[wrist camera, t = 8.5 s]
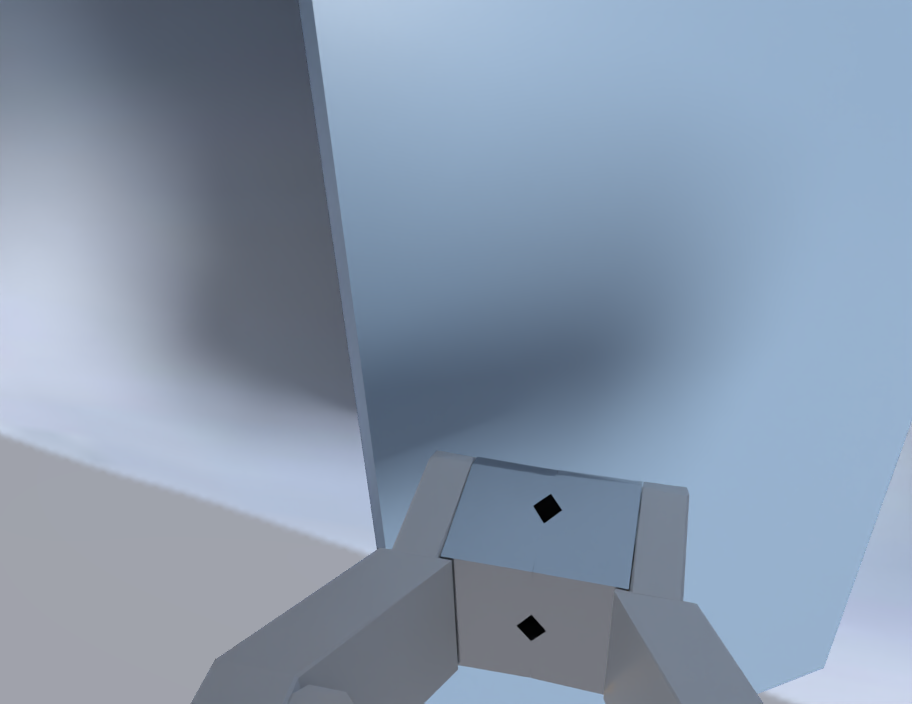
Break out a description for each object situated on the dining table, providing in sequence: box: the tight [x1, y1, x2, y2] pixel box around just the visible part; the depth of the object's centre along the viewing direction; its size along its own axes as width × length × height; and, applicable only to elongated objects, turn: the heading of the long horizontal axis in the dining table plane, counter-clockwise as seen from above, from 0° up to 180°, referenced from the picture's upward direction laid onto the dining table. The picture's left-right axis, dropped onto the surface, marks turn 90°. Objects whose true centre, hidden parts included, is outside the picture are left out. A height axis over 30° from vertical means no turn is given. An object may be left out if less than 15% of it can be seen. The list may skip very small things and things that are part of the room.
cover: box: [298, 0, 912, 704], centre depth 14 cm, size 22×11×3 cm
